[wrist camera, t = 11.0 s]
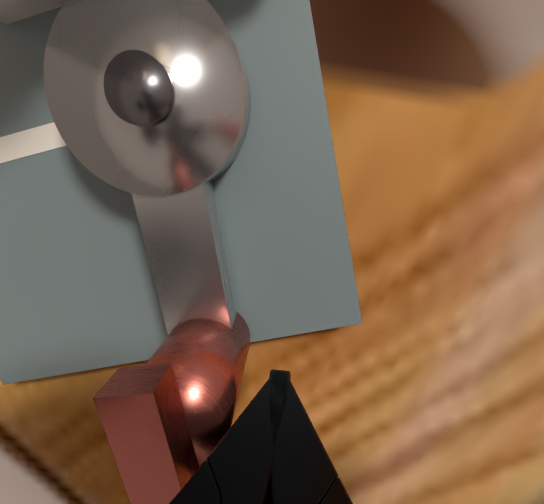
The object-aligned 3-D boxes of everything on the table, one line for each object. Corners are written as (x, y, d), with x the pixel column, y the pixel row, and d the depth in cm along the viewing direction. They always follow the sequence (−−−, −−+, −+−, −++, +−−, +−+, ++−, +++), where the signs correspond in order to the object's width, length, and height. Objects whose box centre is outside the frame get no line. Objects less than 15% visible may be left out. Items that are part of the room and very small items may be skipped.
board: (355, 309, 11) (362, 323, 10) (26, 368, 12) (2, 385, 11) (208, -564, 6) (192, -714, 5) (-304, -287, 7) (-395, -358, 6)
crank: (54, 19, 8) (-295, -215, 3) (234, -19, 7) (137, -361, 3) (157, 385, 11) (57, 546, 6) (290, 374, 10) (292, 539, 6)
